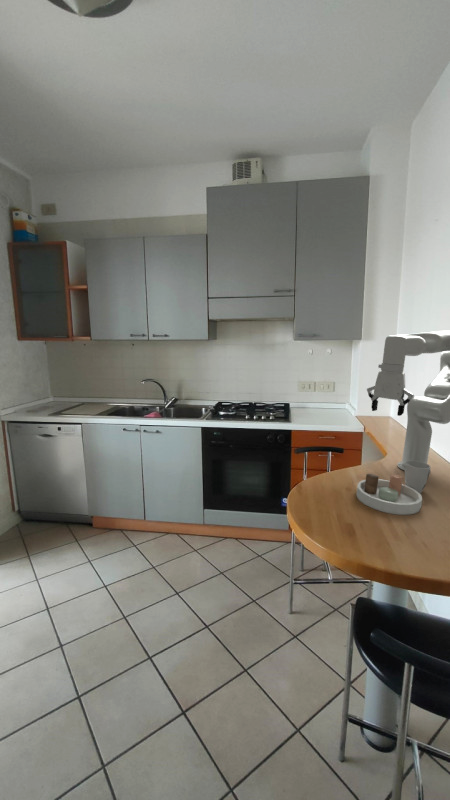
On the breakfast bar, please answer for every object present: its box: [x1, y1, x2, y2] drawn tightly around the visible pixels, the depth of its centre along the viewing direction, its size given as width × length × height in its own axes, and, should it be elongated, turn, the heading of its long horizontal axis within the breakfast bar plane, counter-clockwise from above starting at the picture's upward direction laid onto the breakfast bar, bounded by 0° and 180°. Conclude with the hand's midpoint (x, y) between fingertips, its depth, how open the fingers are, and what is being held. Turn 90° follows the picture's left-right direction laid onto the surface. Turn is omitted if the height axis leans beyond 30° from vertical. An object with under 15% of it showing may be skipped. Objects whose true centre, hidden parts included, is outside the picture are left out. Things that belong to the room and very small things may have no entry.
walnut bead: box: [364, 473, 380, 494], centre depth 126 cm, size 4×4×6 cm
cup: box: [404, 461, 431, 494], centre depth 131 cm, size 8×8×10 cm
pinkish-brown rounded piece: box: [389, 474, 404, 495], centre depth 126 cm, size 4×4×6 cm
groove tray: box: [355, 478, 423, 516], centre depth 122 cm, size 20×20×4 cm
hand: (386, 412), depth 139 cm, fingers open, 9 cm apart
